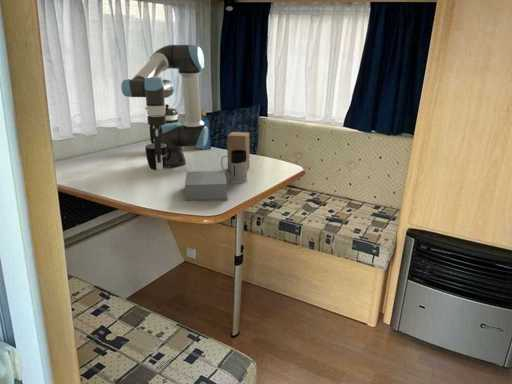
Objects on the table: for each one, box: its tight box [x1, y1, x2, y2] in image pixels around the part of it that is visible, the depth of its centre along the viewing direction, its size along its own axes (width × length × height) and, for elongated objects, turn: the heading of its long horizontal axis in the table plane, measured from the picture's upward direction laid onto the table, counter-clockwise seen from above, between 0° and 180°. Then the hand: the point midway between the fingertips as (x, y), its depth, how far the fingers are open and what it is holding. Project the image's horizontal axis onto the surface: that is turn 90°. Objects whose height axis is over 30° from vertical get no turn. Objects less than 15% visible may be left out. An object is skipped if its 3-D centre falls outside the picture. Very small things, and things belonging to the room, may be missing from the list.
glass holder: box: [220, 150, 249, 184], centre depth 206 cm, size 9×14×15 cm, turn 122°
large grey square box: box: [184, 170, 229, 202], centre depth 190 cm, size 21×19×8 cm
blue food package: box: [197, 109, 212, 151], centre depth 272 cm, size 6×12×25 cm, turn 36°
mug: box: [144, 143, 171, 171], centre depth 183 cm, size 12×9×10 cm
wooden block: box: [226, 131, 250, 173], centre depth 224 cm, size 10×10×20 cm
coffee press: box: [149, 103, 179, 144], centre depth 259 cm, size 17×16×30 cm
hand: (160, 166), depth 183 cm, fingers closed on mug, 9 cm apart
